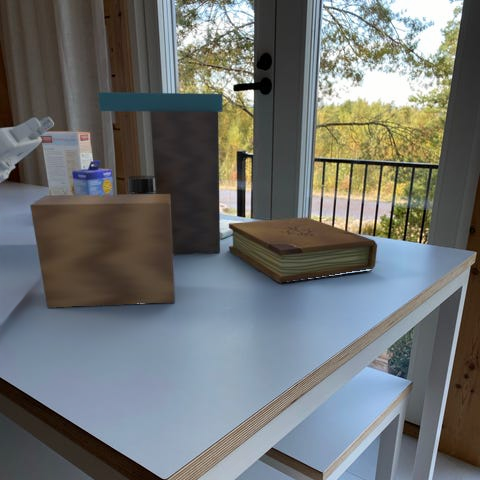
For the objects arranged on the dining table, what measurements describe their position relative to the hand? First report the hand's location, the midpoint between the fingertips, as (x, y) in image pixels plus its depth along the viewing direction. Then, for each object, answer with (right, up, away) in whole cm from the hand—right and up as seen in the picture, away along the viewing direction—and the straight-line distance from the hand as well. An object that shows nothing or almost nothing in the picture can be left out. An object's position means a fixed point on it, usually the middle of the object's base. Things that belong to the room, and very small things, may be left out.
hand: (45, 120), depth 86 cm
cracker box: (-16, 0, +62) cm, 64 cm away
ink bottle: (+12, -14, +30) cm, 35 cm away
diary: (+46, -25, +5) cm, 53 cm away
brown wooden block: (+16, -32, -14) cm, 39 cm away
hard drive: (+31, -15, +27) cm, 44 cm away
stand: (+25, -21, +12) cm, 35 cm away
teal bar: (+21, +2, +2) cm, 21 cm away
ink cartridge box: (-4, -8, +43) cm, 44 cm away
